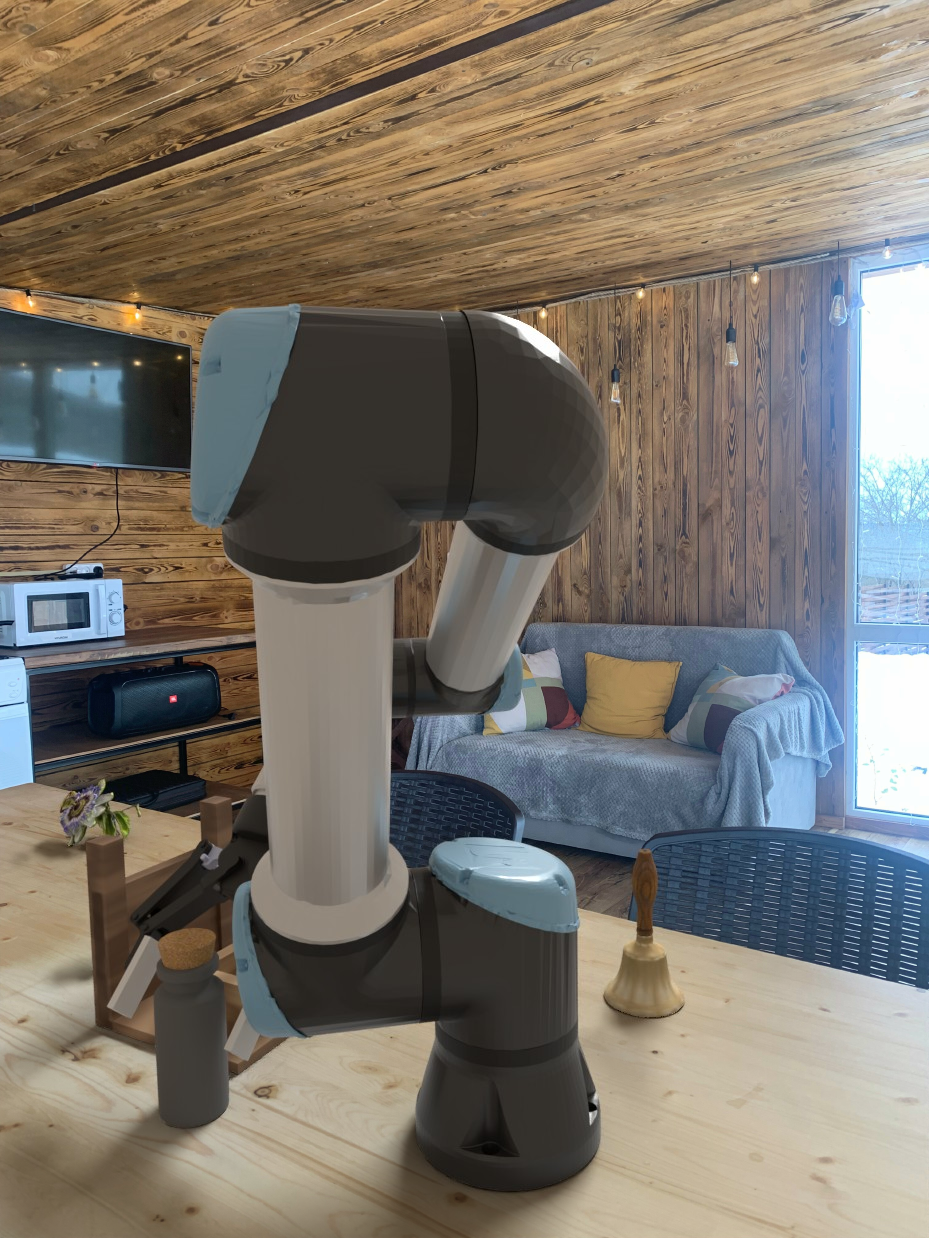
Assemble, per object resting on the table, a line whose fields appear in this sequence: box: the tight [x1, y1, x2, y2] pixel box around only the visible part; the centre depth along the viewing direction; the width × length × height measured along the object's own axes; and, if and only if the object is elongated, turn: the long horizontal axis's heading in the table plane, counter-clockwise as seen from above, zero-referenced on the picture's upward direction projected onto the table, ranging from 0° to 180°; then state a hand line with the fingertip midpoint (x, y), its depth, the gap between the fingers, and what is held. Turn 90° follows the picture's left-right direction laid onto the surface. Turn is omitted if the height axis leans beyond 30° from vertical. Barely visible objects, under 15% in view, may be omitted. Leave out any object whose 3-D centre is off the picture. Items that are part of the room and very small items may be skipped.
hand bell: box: [603, 848, 685, 1019], centre depth 96 cm, size 8×8×16 cm
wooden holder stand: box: [84, 795, 289, 1075], centre depth 95 cm, size 19×18×19 cm
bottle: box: [154, 928, 230, 1129], centre depth 78 cm, size 6×6×15 cm
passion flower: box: [57, 778, 142, 846], centre depth 151 cm, size 11×11×12 cm
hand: (174, 1033), depth 78 cm, fingers open, 13 cm apart
